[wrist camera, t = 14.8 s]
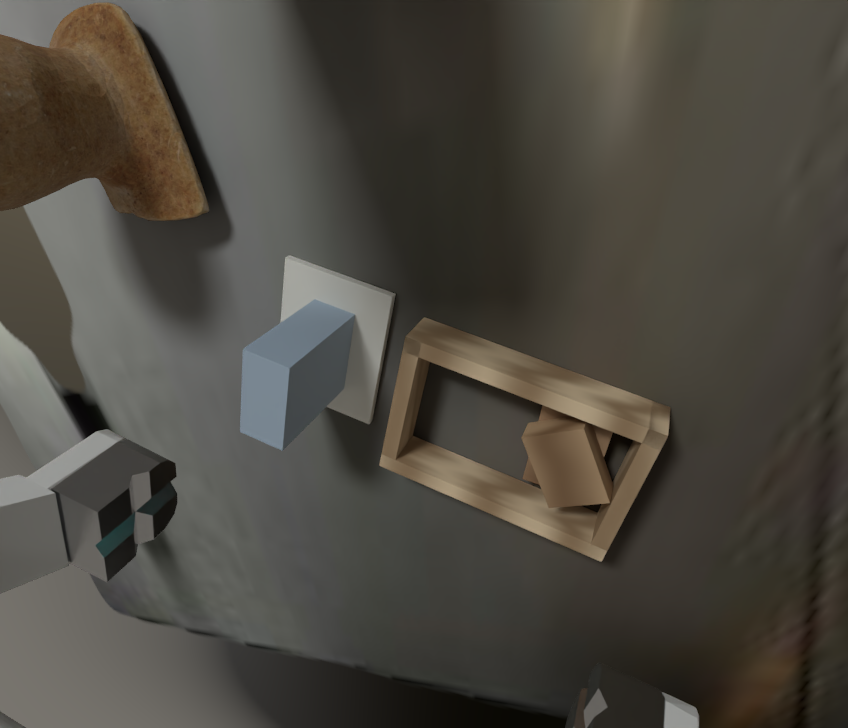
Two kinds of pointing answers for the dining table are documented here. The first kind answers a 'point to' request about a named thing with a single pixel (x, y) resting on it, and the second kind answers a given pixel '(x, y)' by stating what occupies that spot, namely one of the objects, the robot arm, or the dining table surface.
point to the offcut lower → (550, 413)
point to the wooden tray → (538, 385)
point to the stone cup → (93, 120)
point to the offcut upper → (568, 462)
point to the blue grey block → (294, 372)
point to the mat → (367, 330)
